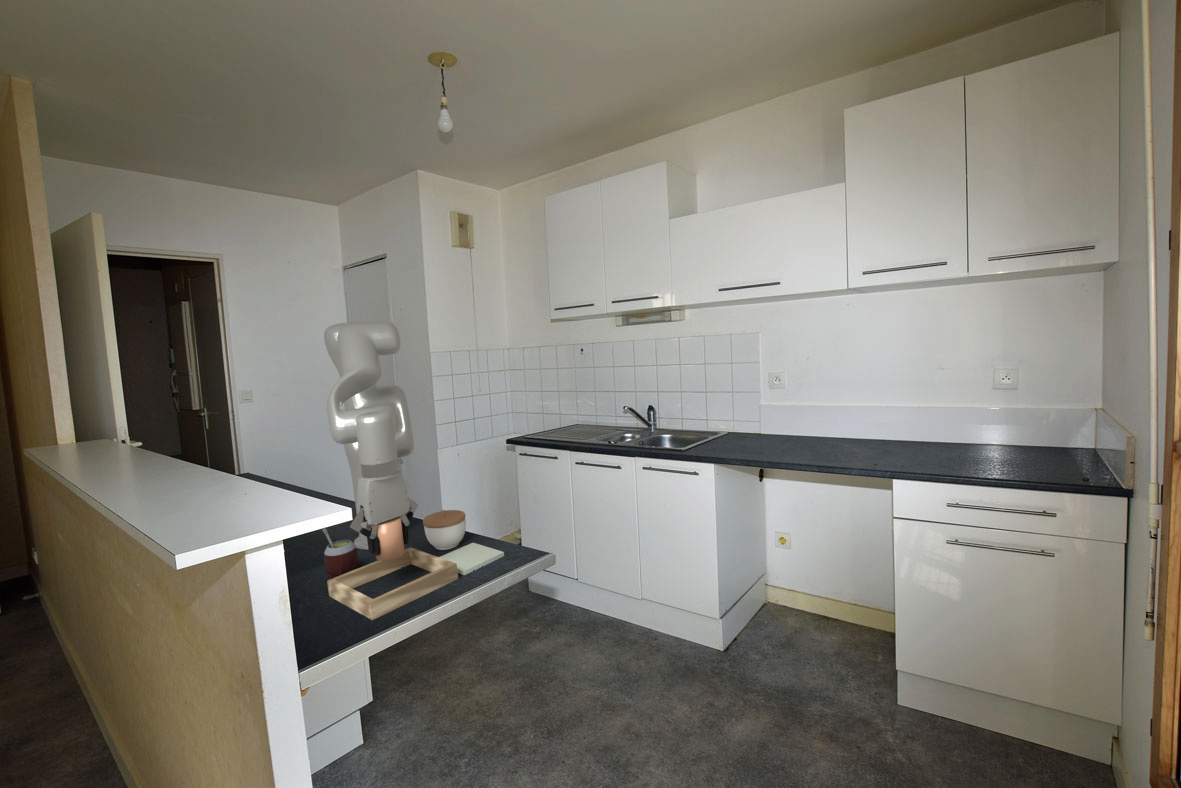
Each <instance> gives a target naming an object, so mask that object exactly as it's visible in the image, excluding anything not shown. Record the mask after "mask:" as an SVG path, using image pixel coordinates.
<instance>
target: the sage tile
mask: <svg viewBox="0 0 1181 788" xmlns="http://www.w3.org/2000/svg"><path fill="white" fill-rule="evenodd" d="M438 557H439V558H442V559H445V560H447V561H450V562H453V563H456V564H457V571H458V575H459V574H460V575H462V576H466V575H467V574H470V573H472V572H474V571H476V570H478V569H480V568H483V567H485V566H487V565H489V564H491V563H493V562H495V561H497V560H499V559H501V558H503V557H505V552H504V551H501V550H498V549H495V548H492V547H488V546H486V545H482V544H479V543H475V542H471V543H469V544H467V545H464V546H462V547H460V548H457V549H455V550H453V551H452V550H451V551H450V552H448V553H446V554H443V555H441V556H438ZM482 566H483V567H482ZM473 570H474V571H473Z"/></svg>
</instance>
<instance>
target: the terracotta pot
mask: <svg viewBox="0 0 1181 788" xmlns="http://www.w3.org/2000/svg"><path fill="white" fill-rule="evenodd" d="M376 537H378V538H379V545H380V553H381V554H380V555H378V556H376V555H375V559H376V561H378V560H380V561H388V560H393V559H396V558H399V557H401V556H402V555H404V553H405V550H406V549H405V544H404V540H403V532H402V523H401V517H397V518H395V519H392V520H389V521H386V522H383V523H380V524H378V529H377V533H376Z"/></svg>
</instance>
